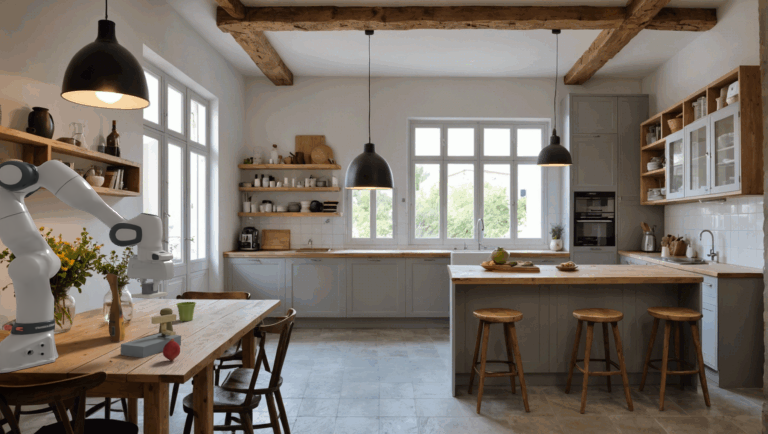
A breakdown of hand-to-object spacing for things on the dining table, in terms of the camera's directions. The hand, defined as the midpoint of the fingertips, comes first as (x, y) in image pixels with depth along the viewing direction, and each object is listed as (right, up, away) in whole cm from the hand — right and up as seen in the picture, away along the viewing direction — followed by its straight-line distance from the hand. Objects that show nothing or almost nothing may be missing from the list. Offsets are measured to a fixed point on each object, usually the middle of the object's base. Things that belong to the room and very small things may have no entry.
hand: (149, 290), depth 186 cm
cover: (0, -2, 0) cm, 2 cm away
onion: (+14, -24, -12) cm, 30 cm away
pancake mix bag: (-24, -24, +19) cm, 39 cm away
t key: (+4, -19, +6) cm, 20 cm away
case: (0, -24, +2) cm, 24 cm away
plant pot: (-10, -24, +57) cm, 63 cm away
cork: (-8, -24, +30) cm, 39 cm away
